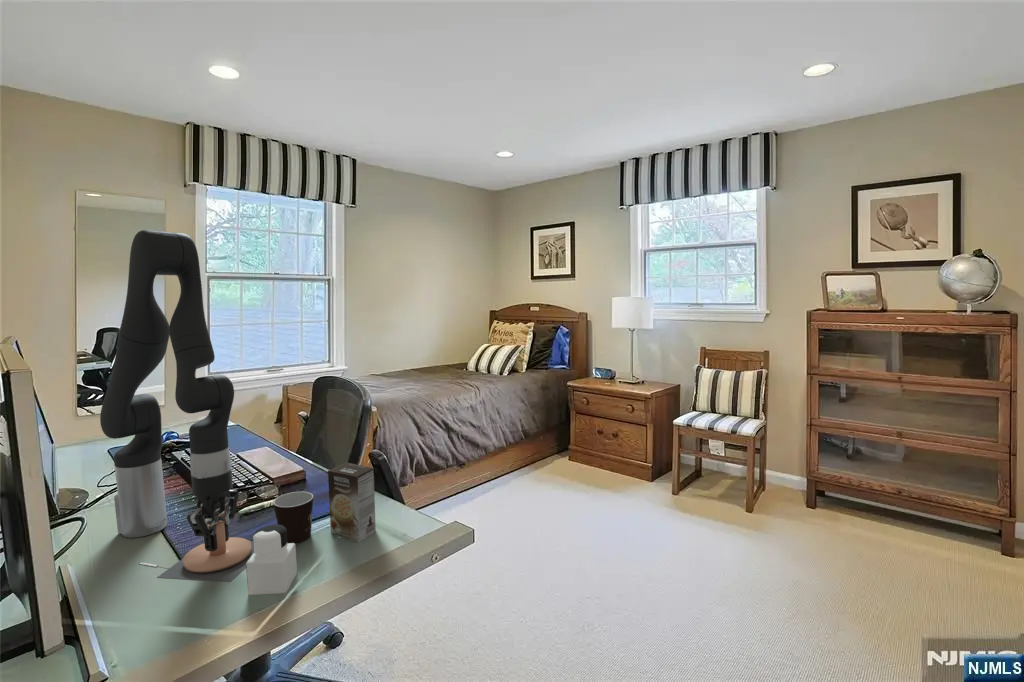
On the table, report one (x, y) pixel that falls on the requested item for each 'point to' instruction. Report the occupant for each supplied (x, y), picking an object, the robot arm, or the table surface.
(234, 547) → the terracotta lid
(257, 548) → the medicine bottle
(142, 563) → the white screwdriver
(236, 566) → the mat
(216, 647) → the table surface
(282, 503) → the coffee mug
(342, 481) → the coffee box
